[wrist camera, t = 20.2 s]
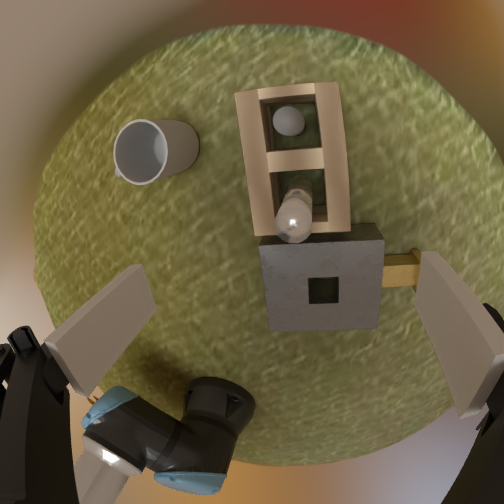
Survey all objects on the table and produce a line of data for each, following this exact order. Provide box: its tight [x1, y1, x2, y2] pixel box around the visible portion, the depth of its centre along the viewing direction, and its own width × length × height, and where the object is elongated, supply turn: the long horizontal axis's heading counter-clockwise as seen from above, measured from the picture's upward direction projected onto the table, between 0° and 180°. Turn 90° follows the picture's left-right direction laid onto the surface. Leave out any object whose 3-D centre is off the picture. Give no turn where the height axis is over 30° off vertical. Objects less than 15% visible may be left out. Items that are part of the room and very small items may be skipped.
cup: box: [113, 119, 199, 185], centre depth 31 cm, size 7×10×9 cm
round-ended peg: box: [274, 175, 312, 243], centre depth 26 cm, size 3×3×16 cm
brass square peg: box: [382, 249, 421, 293], centre depth 33 cm, size 10×4×4 cm, turn 98°
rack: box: [234, 82, 351, 236], centre depth 27 cm, size 10×15×10 cm, turn 8°
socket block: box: [259, 223, 385, 331], centre depth 34 cm, size 14×12×6 cm
